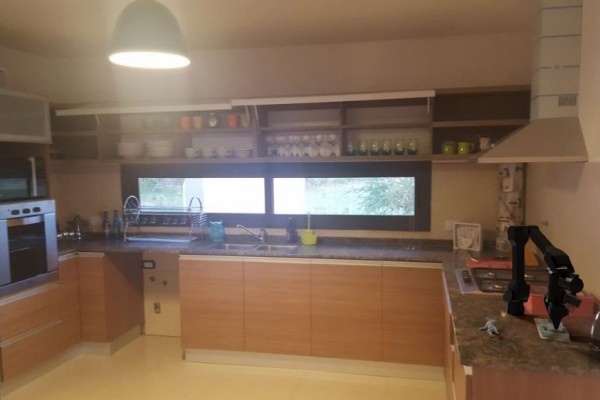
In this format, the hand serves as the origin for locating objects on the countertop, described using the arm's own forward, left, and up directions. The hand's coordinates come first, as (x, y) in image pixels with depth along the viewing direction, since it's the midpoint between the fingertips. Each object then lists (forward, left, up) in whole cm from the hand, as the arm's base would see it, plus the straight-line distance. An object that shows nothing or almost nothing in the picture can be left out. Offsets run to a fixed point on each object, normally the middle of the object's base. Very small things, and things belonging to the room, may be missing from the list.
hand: (554, 325), depth 175 cm
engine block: (0, 0, -4) cm, 4 cm away
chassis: (0, +6, -5) cm, 8 cm away
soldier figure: (-22, -3, -5) cm, 23 cm away
